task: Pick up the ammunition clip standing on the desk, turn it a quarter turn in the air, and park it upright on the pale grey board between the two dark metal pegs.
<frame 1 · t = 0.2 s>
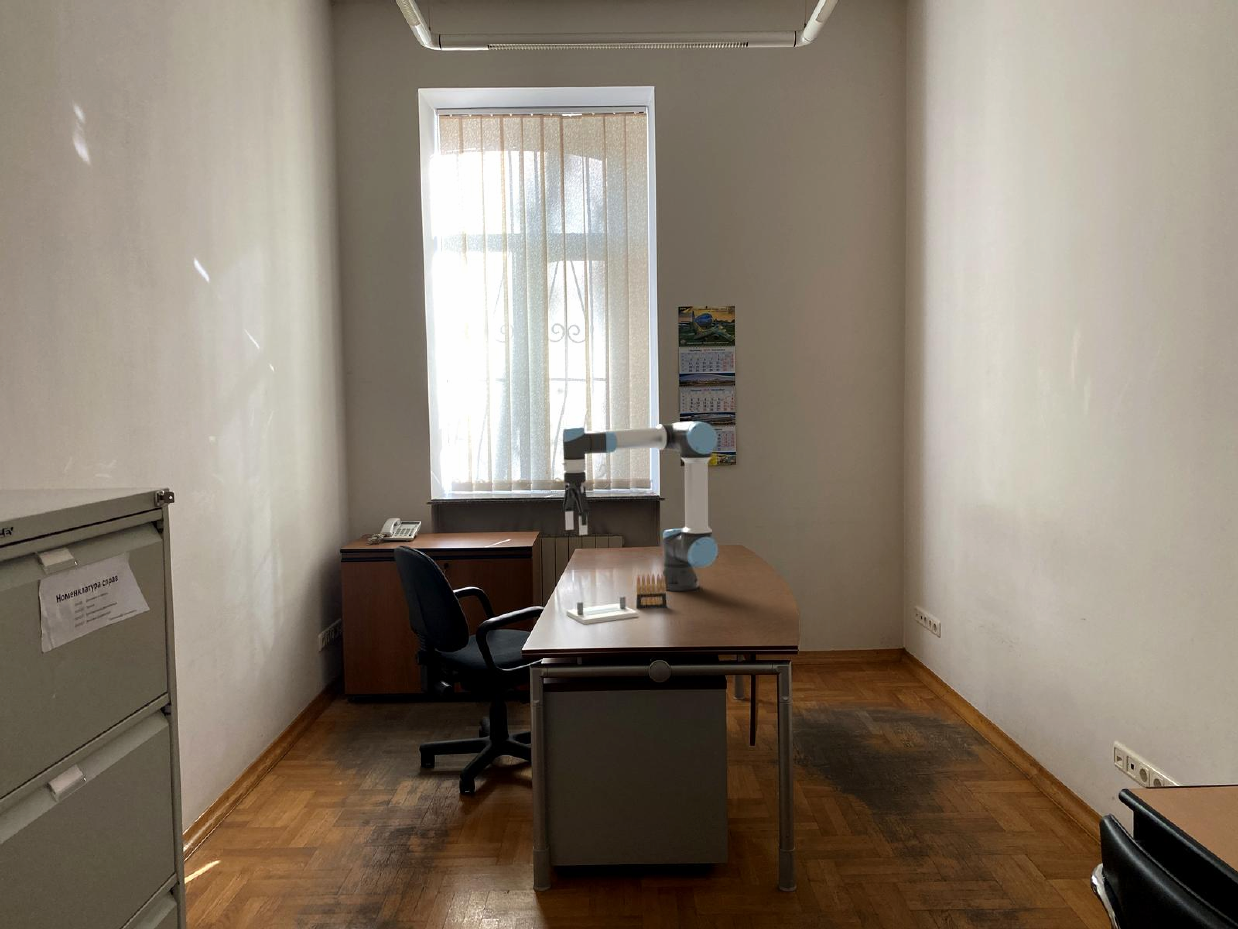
hand: (576, 532, 301), 28 cm above the table, fingers open, 13 cm apart
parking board: (601, 615, 293), on the table
ammunition clip: (651, 608, 303), on the table
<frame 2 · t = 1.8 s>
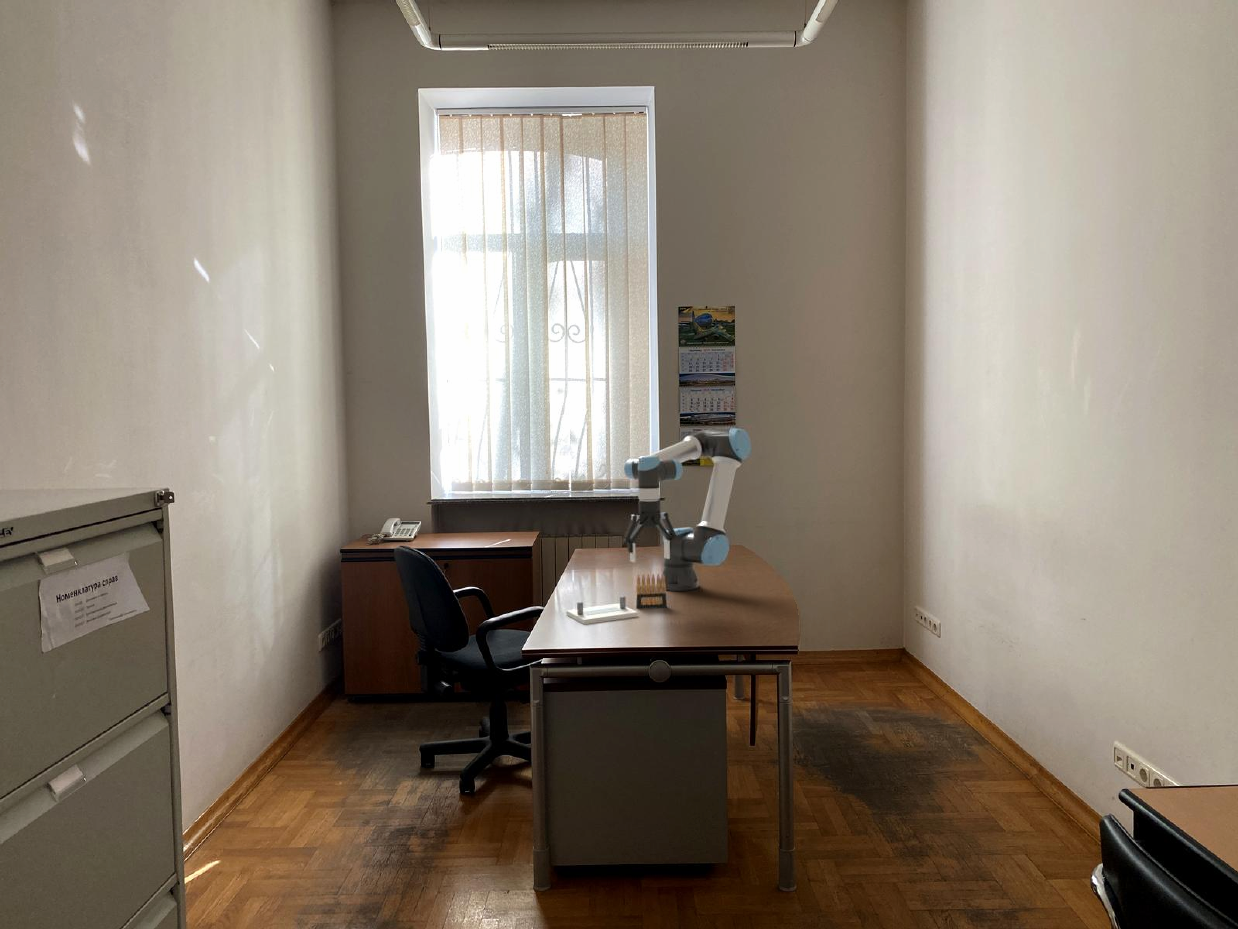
hand: (650, 560, 302), 17 cm above the table, fingers open, 13 cm apart
nothing on the table moved.
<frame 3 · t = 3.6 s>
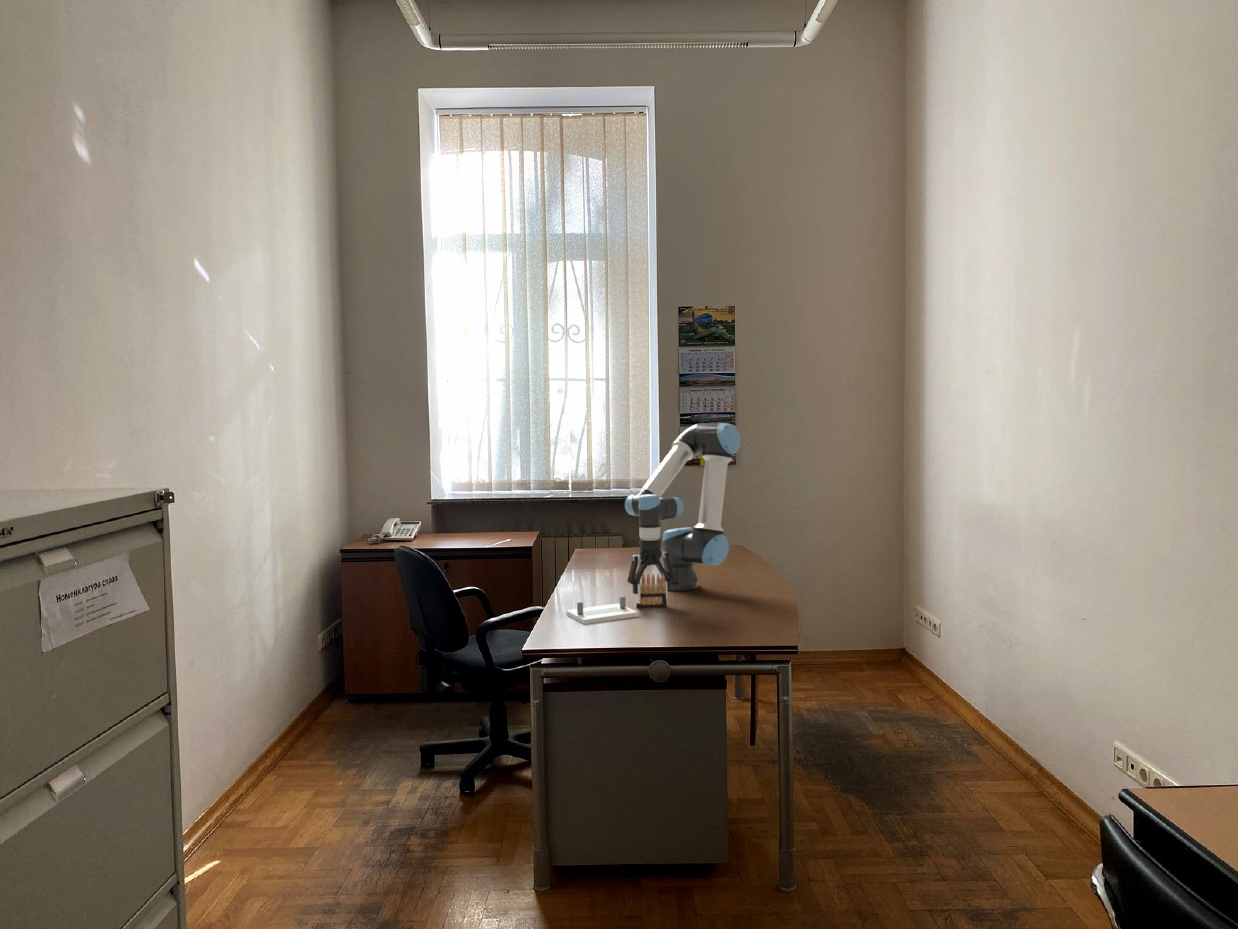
hand: (651, 601, 303), 2 cm above the table, fingers closed on ammunition clip, 10 cm apart
ammunition clip: (651, 608, 303), on the table, touching gripper
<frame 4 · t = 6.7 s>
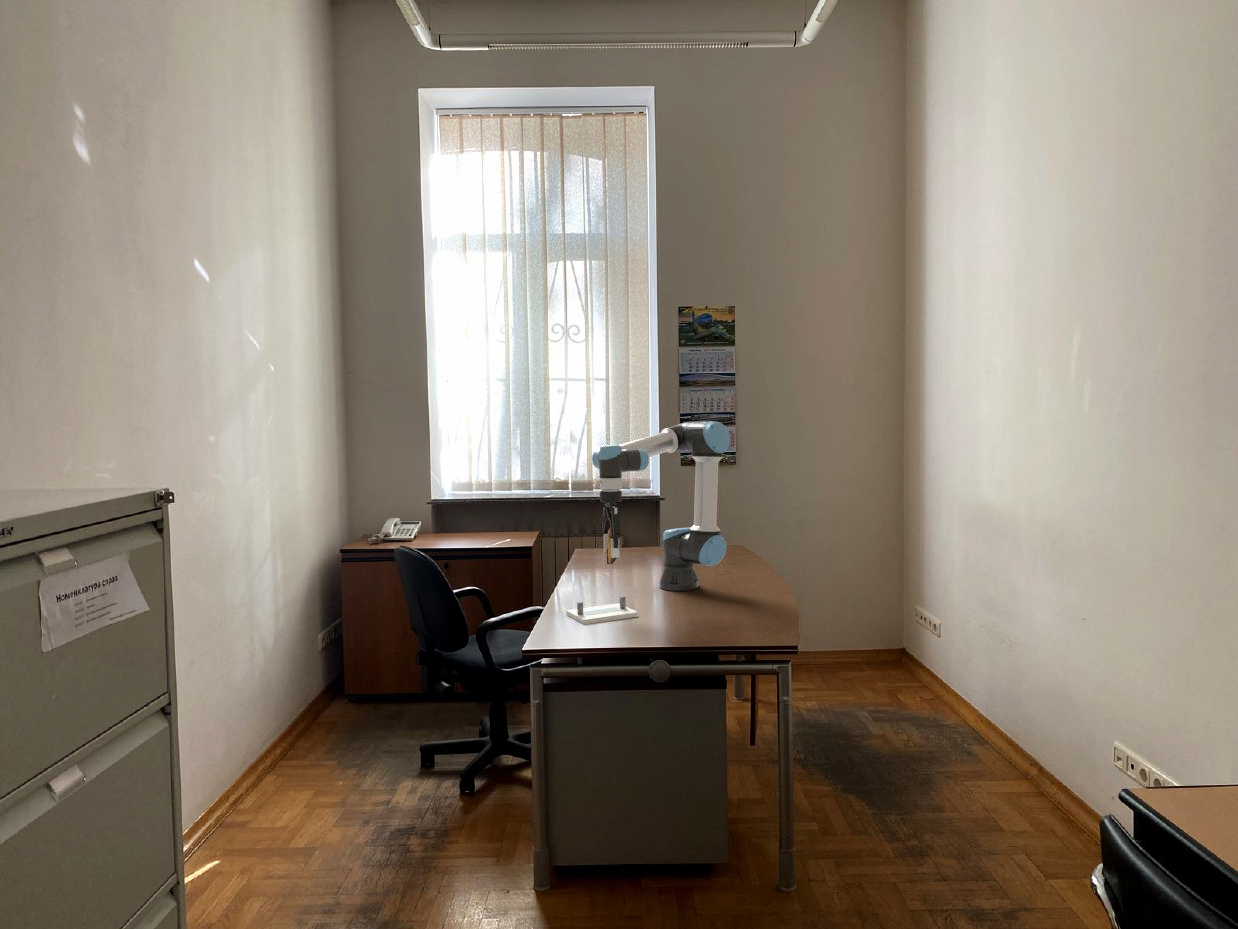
hand: (611, 554, 294), 20 cm above the table, fingers closed on ammunition clip, 10 cm apart
ammunition clip: (611, 562, 294), point 18 cm above the table, touching gripper
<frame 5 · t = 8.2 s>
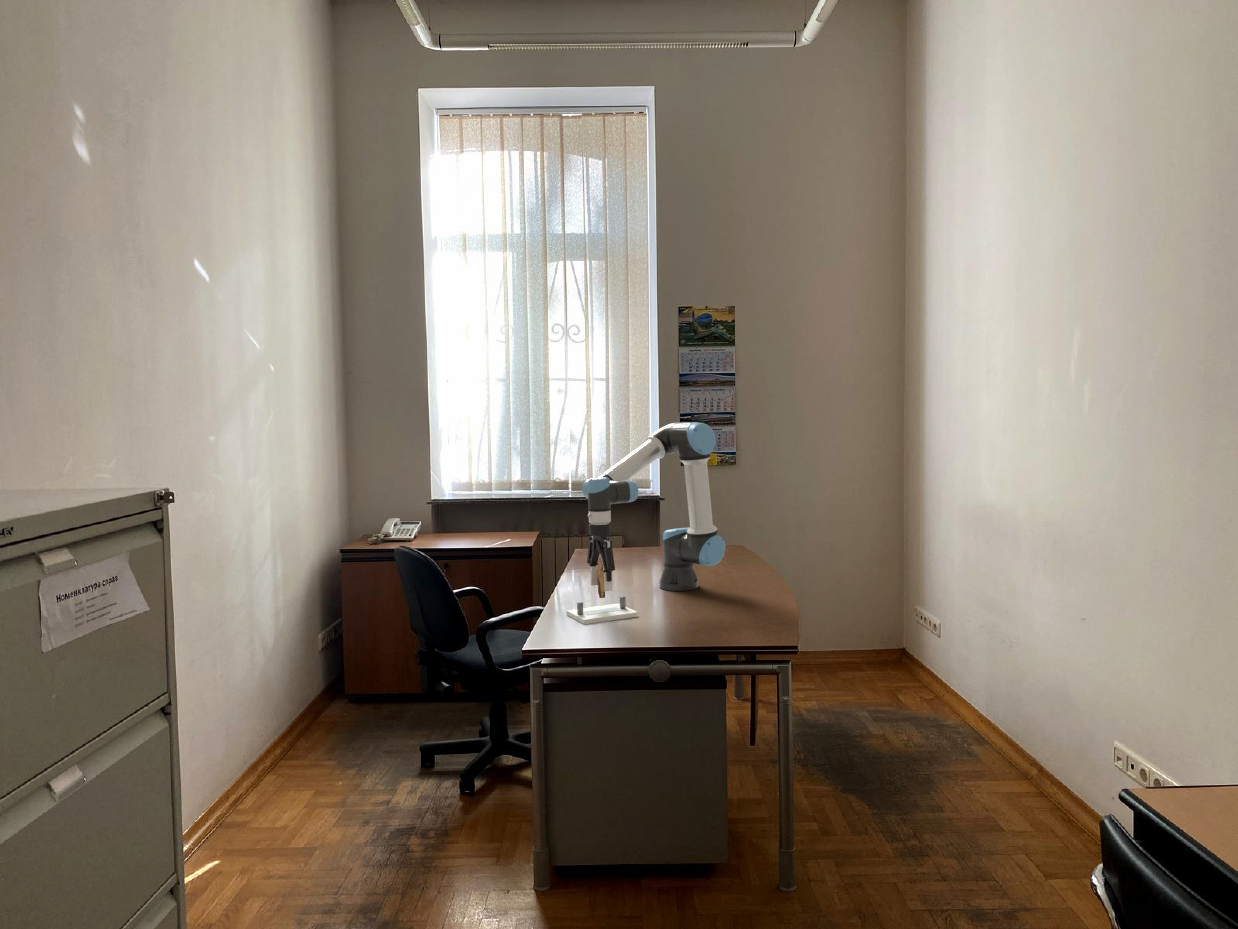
hand: (601, 587, 293), 10 cm above the table, fingers closed on ammunition clip, 10 cm apart
ammunition clip: (601, 595, 293), point 7 cm above the table, touching gripper
when the fingers open (5 cm above the table, at t = 9.8 s): ammunition clip stays where it is, resting on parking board.
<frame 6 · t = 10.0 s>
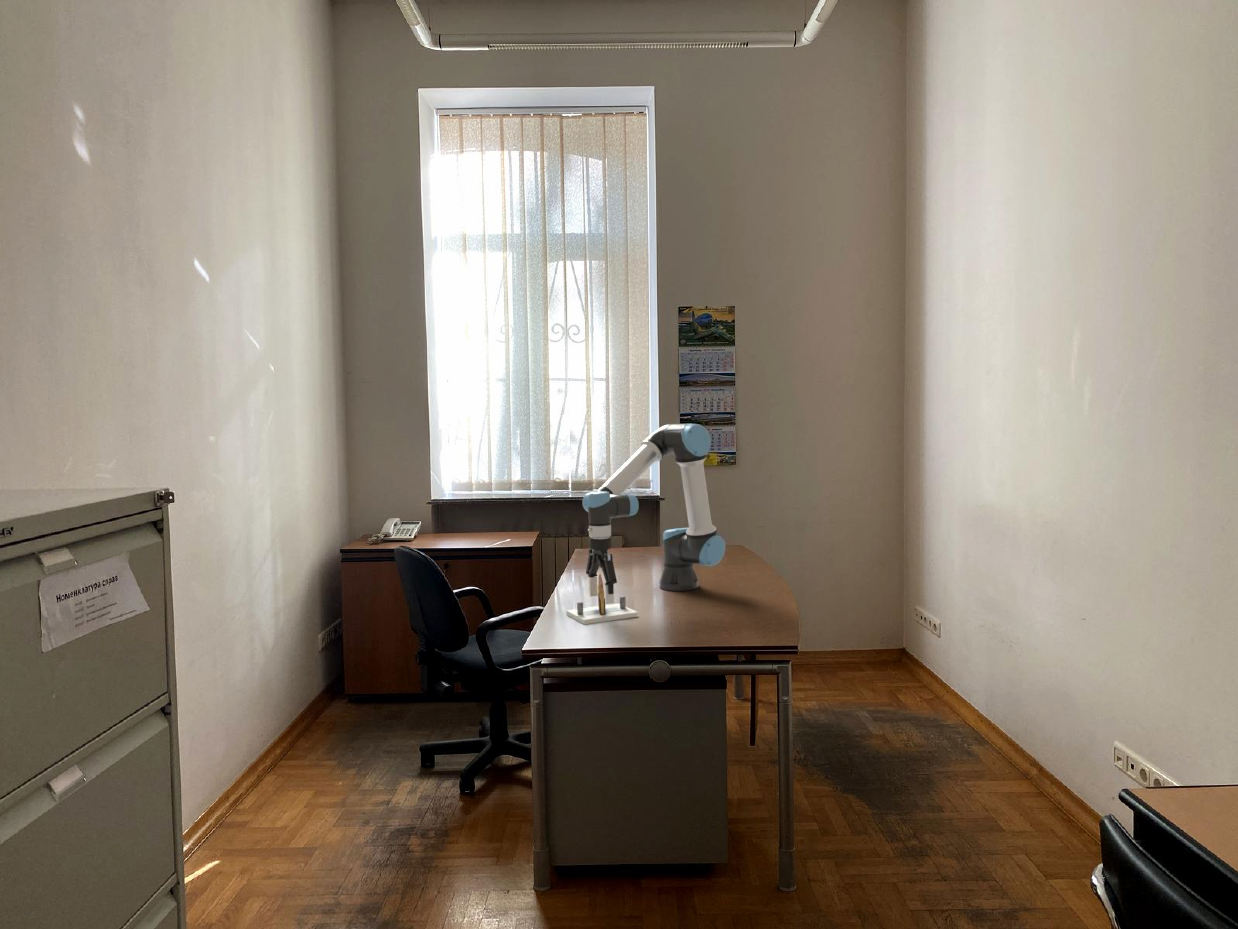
hand: (601, 599, 293), 6 cm above the table, fingers open, 12 cm apart
ammunition clip: (602, 611, 293), point 1 cm above the table, touching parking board
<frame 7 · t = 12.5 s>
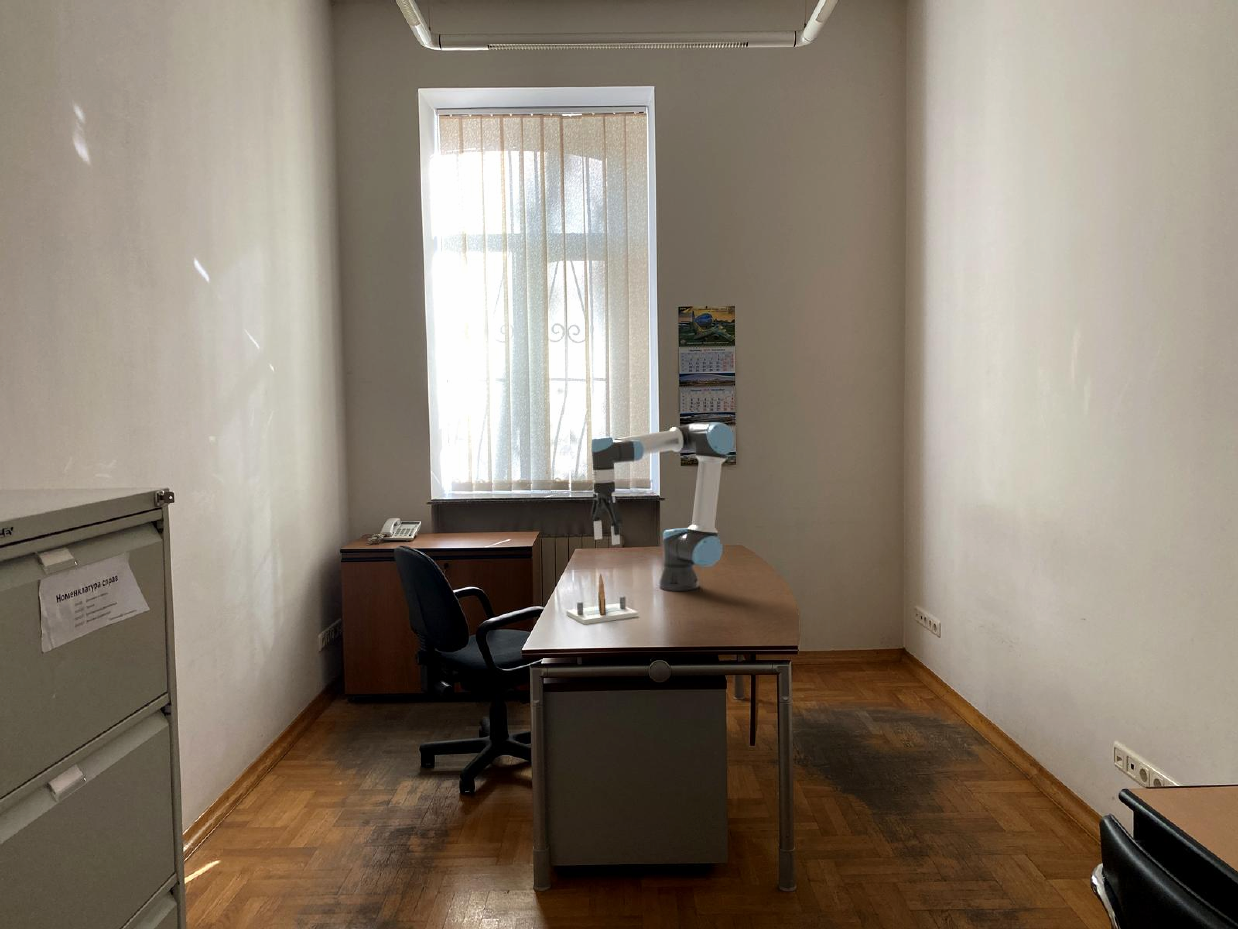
hand: (607, 541, 301), 24 cm above the table, fingers open, 13 cm apart
nothing on the table moved.
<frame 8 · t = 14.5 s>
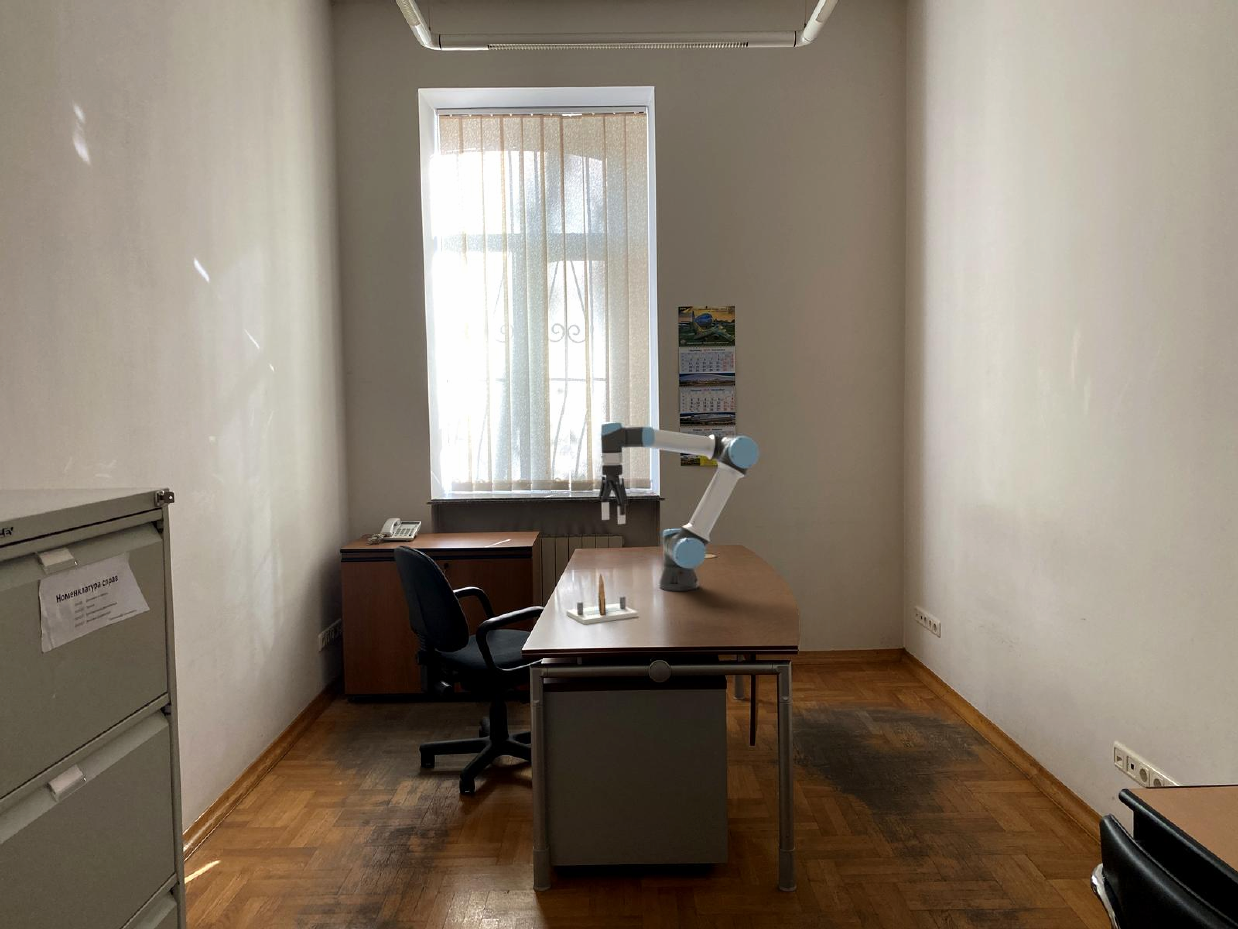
hand: (613, 521, 316), 29 cm above the table, fingers open, 13 cm apart
nothing on the table moved.
at the end: ammunition clip 0.1 cm off-centre on the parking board, point 1.4 cm above the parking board's base; ammunition clip tilted 0°; the gripper is holding nothing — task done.
